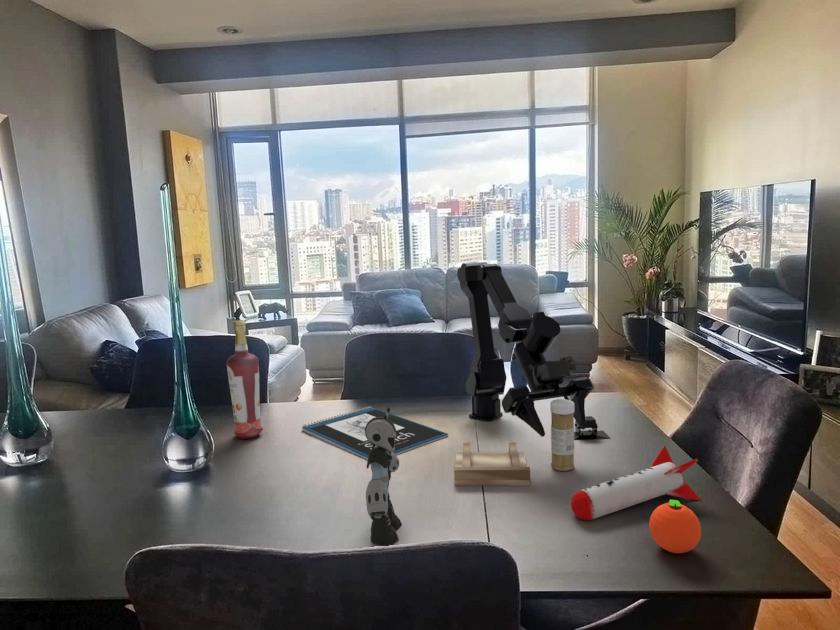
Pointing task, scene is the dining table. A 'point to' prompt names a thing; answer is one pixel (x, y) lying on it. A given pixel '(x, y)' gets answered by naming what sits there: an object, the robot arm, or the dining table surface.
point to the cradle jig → (491, 467)
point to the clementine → (675, 527)
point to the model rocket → (634, 489)
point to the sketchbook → (352, 432)
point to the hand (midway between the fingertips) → (564, 432)
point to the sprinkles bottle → (562, 434)
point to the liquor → (244, 386)
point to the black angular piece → (589, 431)
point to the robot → (381, 480)
